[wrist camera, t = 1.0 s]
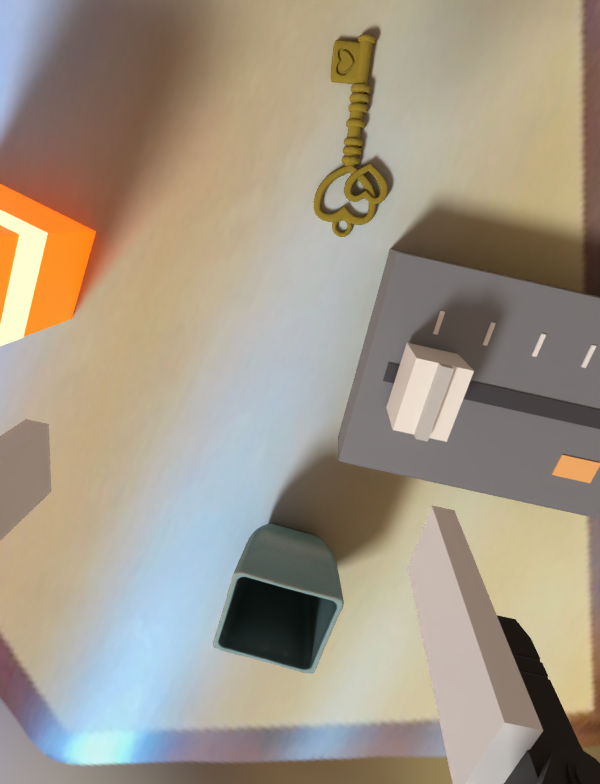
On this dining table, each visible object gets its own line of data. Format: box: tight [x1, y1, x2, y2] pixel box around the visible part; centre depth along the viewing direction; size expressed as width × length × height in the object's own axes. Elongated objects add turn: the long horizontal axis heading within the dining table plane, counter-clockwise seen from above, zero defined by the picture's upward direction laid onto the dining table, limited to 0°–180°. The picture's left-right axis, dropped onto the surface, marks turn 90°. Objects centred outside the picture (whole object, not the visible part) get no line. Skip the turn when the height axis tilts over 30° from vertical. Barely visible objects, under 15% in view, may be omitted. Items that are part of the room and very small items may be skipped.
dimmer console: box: [338, 249, 600, 519], centre depth 33 cm, size 16×22×4 cm
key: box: [314, 34, 388, 237], centre depth 29 cm, size 12×1×5 cm
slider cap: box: [386, 343, 474, 442], centre depth 28 cm, size 5×4×4 cm
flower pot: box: [213, 524, 344, 673], centre depth 38 cm, size 9×9×9 cm
